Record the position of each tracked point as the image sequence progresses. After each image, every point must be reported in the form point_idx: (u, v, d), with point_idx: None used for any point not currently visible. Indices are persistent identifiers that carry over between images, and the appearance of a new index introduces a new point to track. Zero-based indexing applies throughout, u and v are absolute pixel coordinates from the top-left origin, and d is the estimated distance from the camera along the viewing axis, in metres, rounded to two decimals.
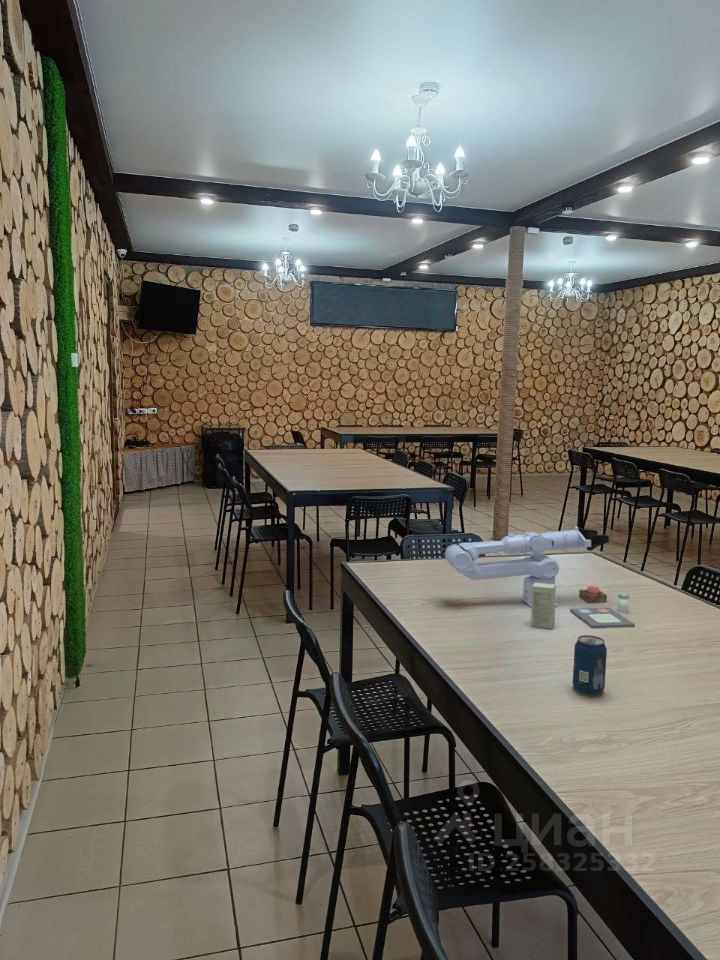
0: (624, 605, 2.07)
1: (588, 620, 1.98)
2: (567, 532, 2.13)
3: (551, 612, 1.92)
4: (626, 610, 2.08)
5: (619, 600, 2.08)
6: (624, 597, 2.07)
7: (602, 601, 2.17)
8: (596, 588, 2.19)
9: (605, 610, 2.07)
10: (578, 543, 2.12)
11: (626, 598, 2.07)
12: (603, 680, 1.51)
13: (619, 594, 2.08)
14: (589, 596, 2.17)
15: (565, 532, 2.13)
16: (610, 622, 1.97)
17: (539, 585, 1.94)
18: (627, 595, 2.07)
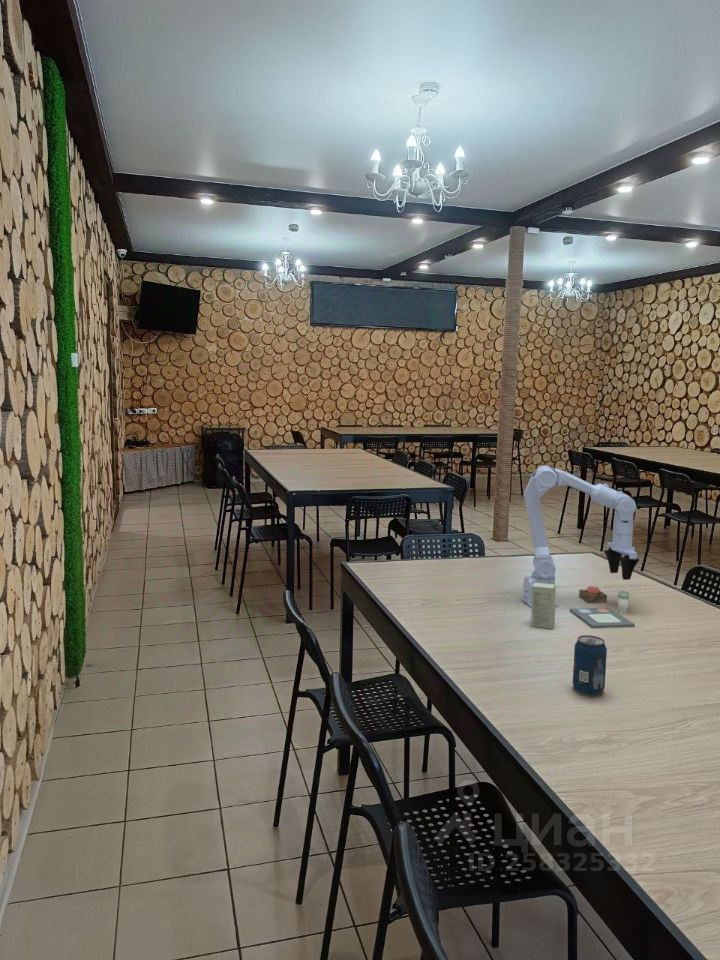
0: (624, 605, 2.07)
1: (588, 620, 1.98)
2: None
3: (551, 612, 1.92)
4: (626, 610, 2.08)
5: (619, 600, 2.08)
6: (624, 597, 2.07)
7: (602, 601, 2.17)
8: (596, 588, 2.19)
9: (605, 610, 2.07)
10: (623, 548, 2.07)
11: (626, 598, 2.07)
12: (603, 680, 1.51)
13: (619, 594, 2.08)
14: (589, 596, 2.17)
15: None
16: (610, 622, 1.97)
17: (539, 585, 1.94)
18: (627, 595, 2.07)
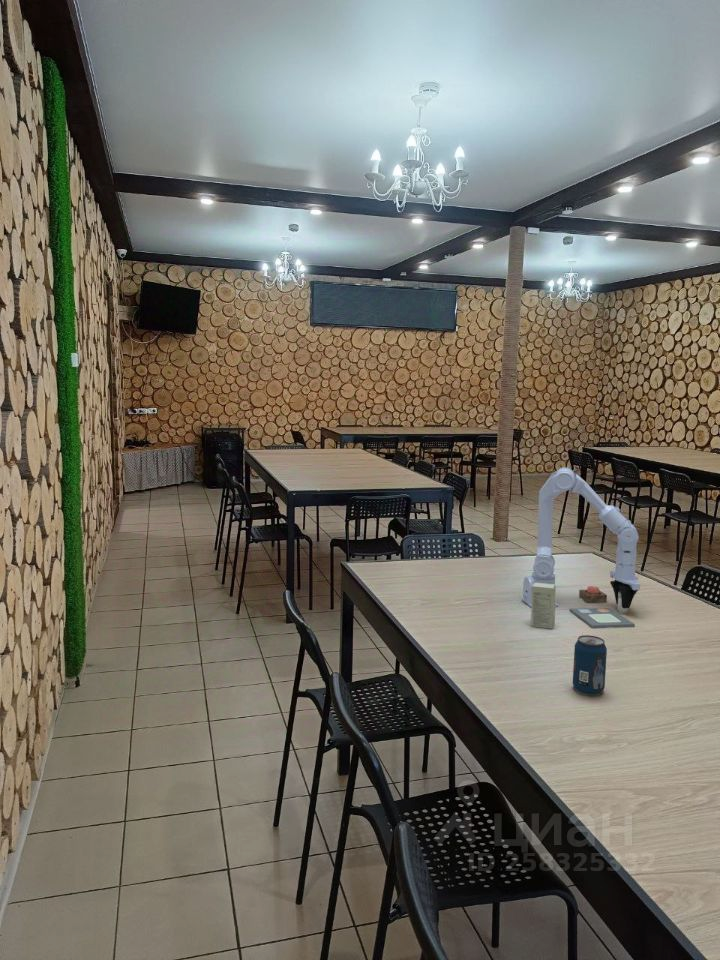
0: None
1: (588, 620, 1.98)
2: None
3: (551, 612, 1.92)
4: (626, 610, 2.08)
5: (619, 600, 2.08)
6: None
7: (602, 601, 2.17)
8: (596, 588, 2.19)
9: (605, 610, 2.07)
10: (626, 579, 2.05)
11: None
12: (603, 680, 1.51)
13: (619, 594, 2.08)
14: (589, 596, 2.17)
15: None
16: (610, 622, 1.97)
17: (539, 585, 1.94)
18: None
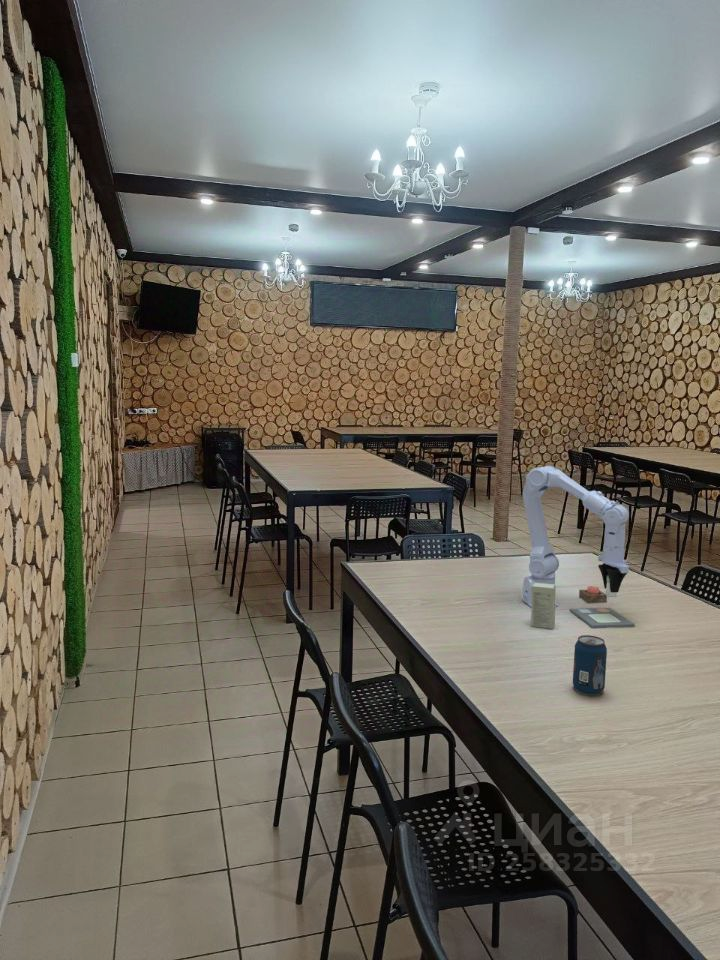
0: None
1: (588, 620, 1.98)
2: (623, 551, 1.99)
3: (551, 612, 1.92)
4: (615, 594, 2.00)
5: (608, 584, 2.01)
6: None
7: (602, 601, 2.17)
8: (596, 588, 2.19)
9: (605, 610, 2.07)
10: (615, 562, 1.97)
11: None
12: (603, 680, 1.51)
13: (608, 578, 2.00)
14: (589, 596, 2.17)
15: (623, 549, 1.99)
16: (610, 622, 1.97)
17: (539, 585, 1.94)
18: None
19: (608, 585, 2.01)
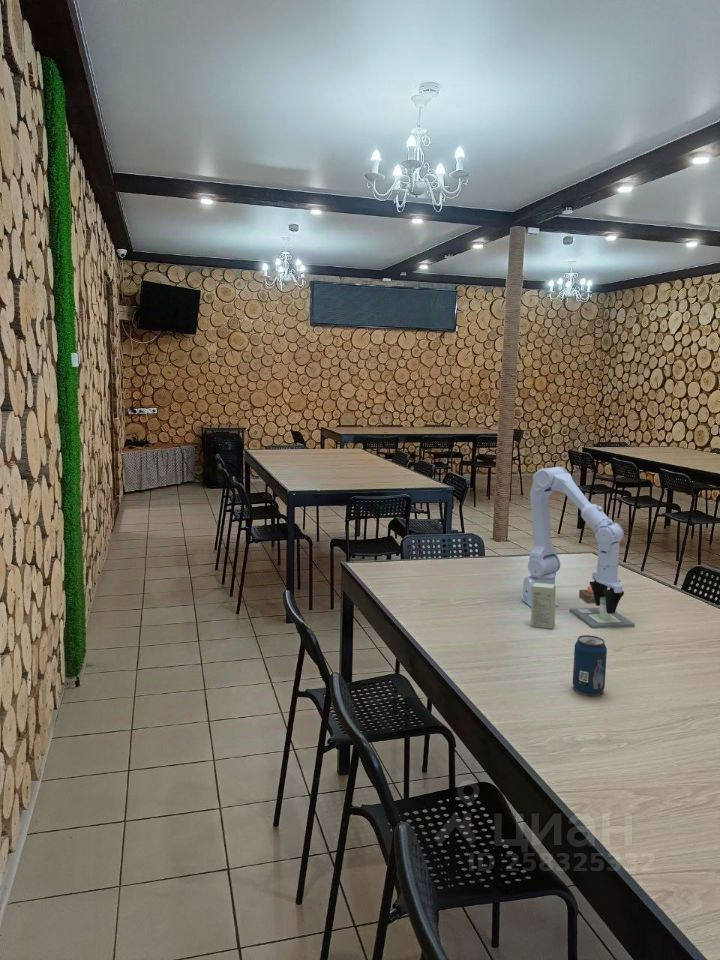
0: (606, 611, 1.98)
1: (588, 620, 1.98)
2: (617, 570, 1.97)
3: (551, 612, 1.92)
4: (608, 617, 1.99)
5: (601, 606, 1.99)
6: None
7: None
8: None
9: None
10: (608, 581, 1.95)
11: None
12: (603, 680, 1.51)
13: (601, 600, 1.99)
14: (589, 596, 2.17)
15: (617, 568, 1.97)
16: (610, 622, 1.97)
17: (539, 585, 1.94)
18: None
19: (601, 607, 1.99)
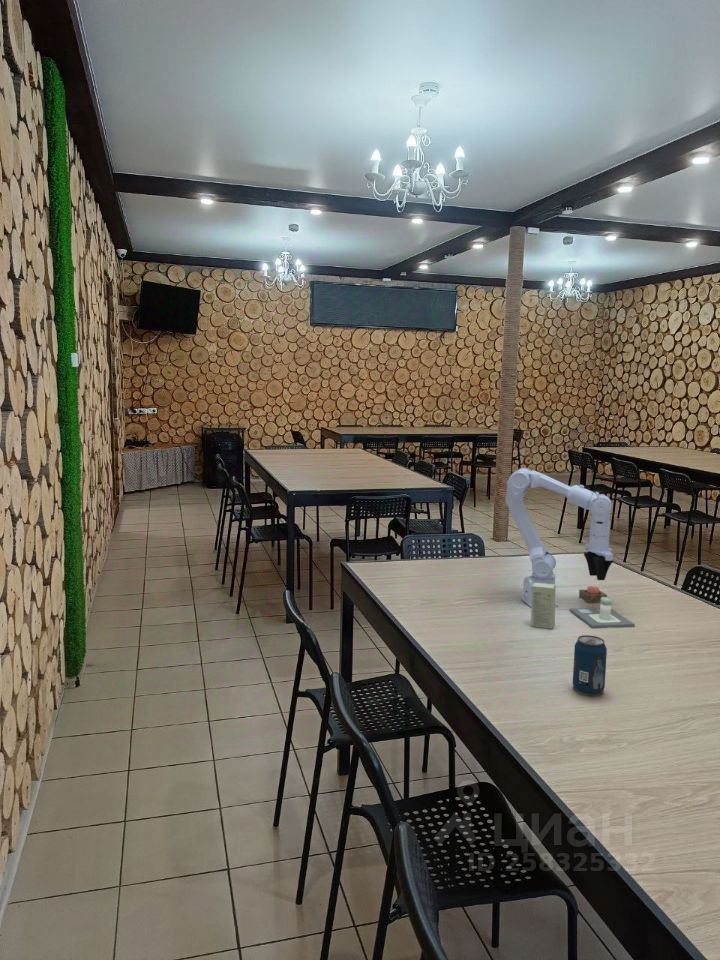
0: (606, 611, 1.98)
1: (588, 620, 1.98)
2: None
3: (551, 612, 1.92)
4: (608, 617, 1.99)
5: (601, 606, 1.99)
6: (607, 603, 1.98)
7: None
8: (596, 588, 2.19)
9: None
10: (600, 550, 2.05)
11: (609, 604, 1.98)
12: (603, 680, 1.51)
13: (602, 600, 1.99)
14: (589, 596, 2.17)
15: None
16: (610, 622, 1.97)
17: (539, 585, 1.94)
18: (610, 601, 1.98)
19: (602, 607, 1.99)
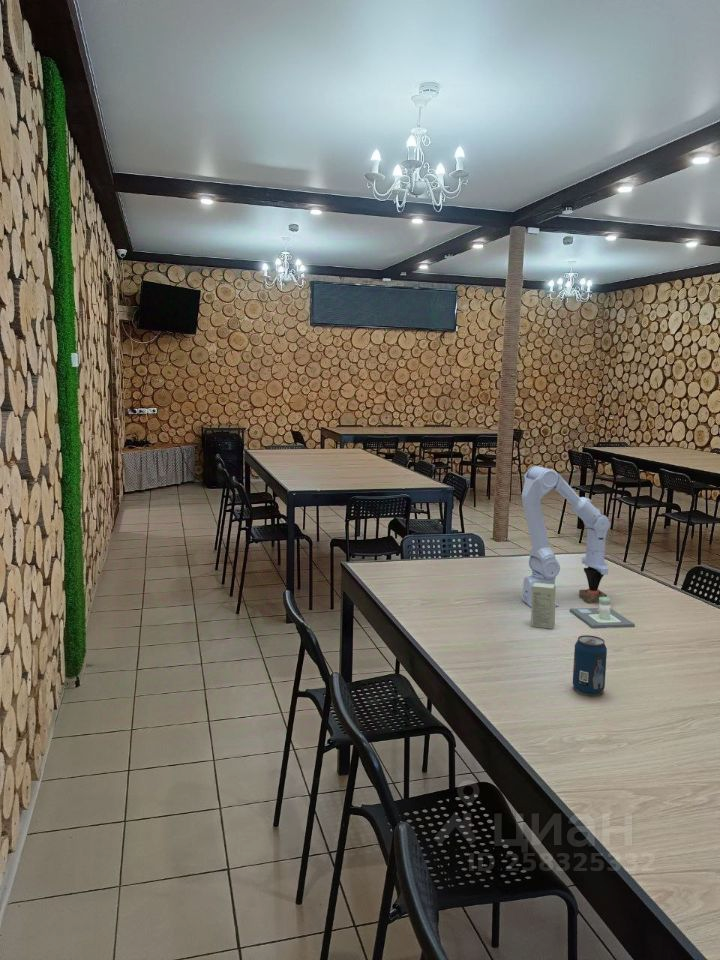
0: (605, 611, 1.98)
1: (588, 620, 1.98)
2: (604, 554, 2.18)
3: (551, 612, 1.92)
4: (608, 616, 1.98)
5: (600, 606, 1.99)
6: (604, 603, 1.98)
7: None
8: None
9: None
10: (596, 564, 2.16)
11: (607, 604, 1.98)
12: (603, 680, 1.51)
13: (599, 599, 1.99)
14: (589, 596, 2.17)
15: (604, 552, 2.18)
16: (610, 622, 1.97)
17: (539, 585, 1.94)
18: (607, 600, 1.98)
19: (600, 607, 1.99)
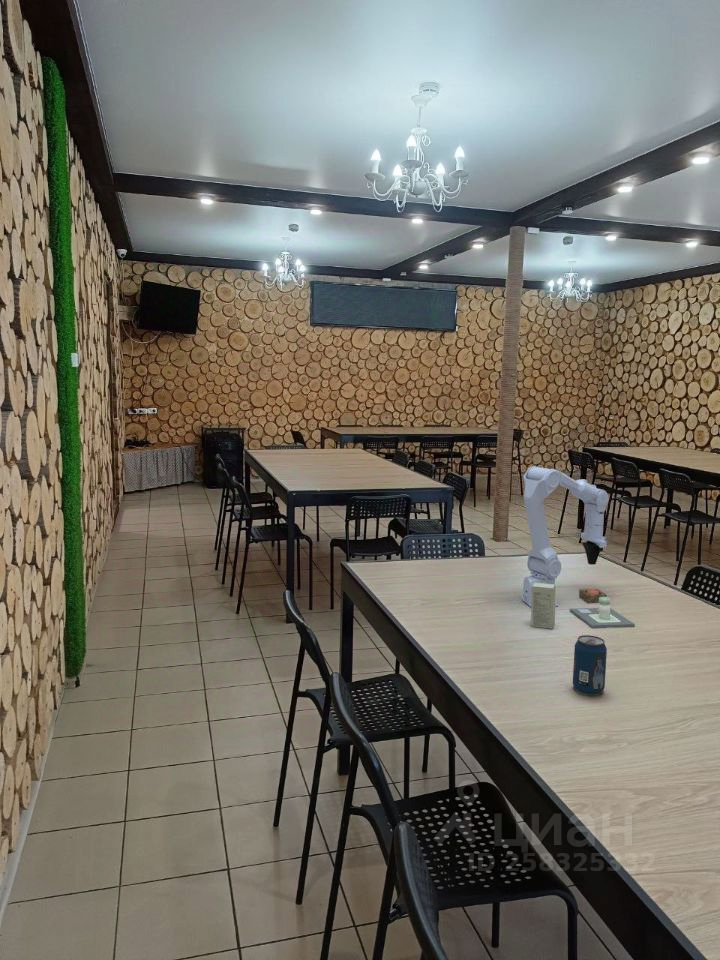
0: (603, 611, 1.98)
1: (588, 620, 1.98)
2: (602, 528, 2.23)
3: (551, 612, 1.92)
4: (607, 616, 1.98)
5: (599, 606, 1.99)
6: (603, 603, 1.98)
7: None
8: (596, 591, 2.19)
9: None
10: (594, 538, 2.21)
11: (605, 604, 1.98)
12: (603, 680, 1.51)
13: (599, 599, 1.99)
14: (589, 596, 2.17)
15: (602, 526, 2.23)
16: (610, 622, 1.97)
17: (539, 585, 1.94)
18: (606, 601, 1.98)
19: (600, 607, 1.99)
